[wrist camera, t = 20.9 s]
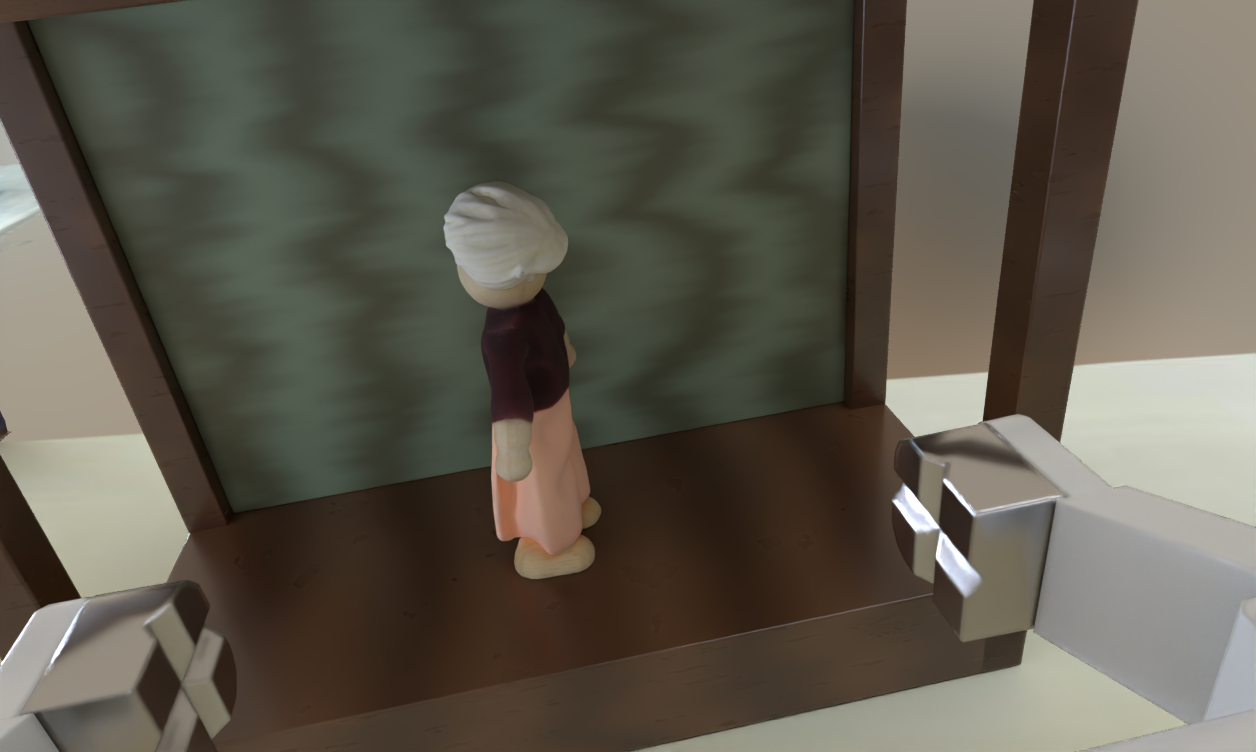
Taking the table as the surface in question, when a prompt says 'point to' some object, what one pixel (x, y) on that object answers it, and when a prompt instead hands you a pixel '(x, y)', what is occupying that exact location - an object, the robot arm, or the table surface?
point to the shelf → (594, 320)
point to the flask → (3, 428)
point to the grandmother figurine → (525, 376)
